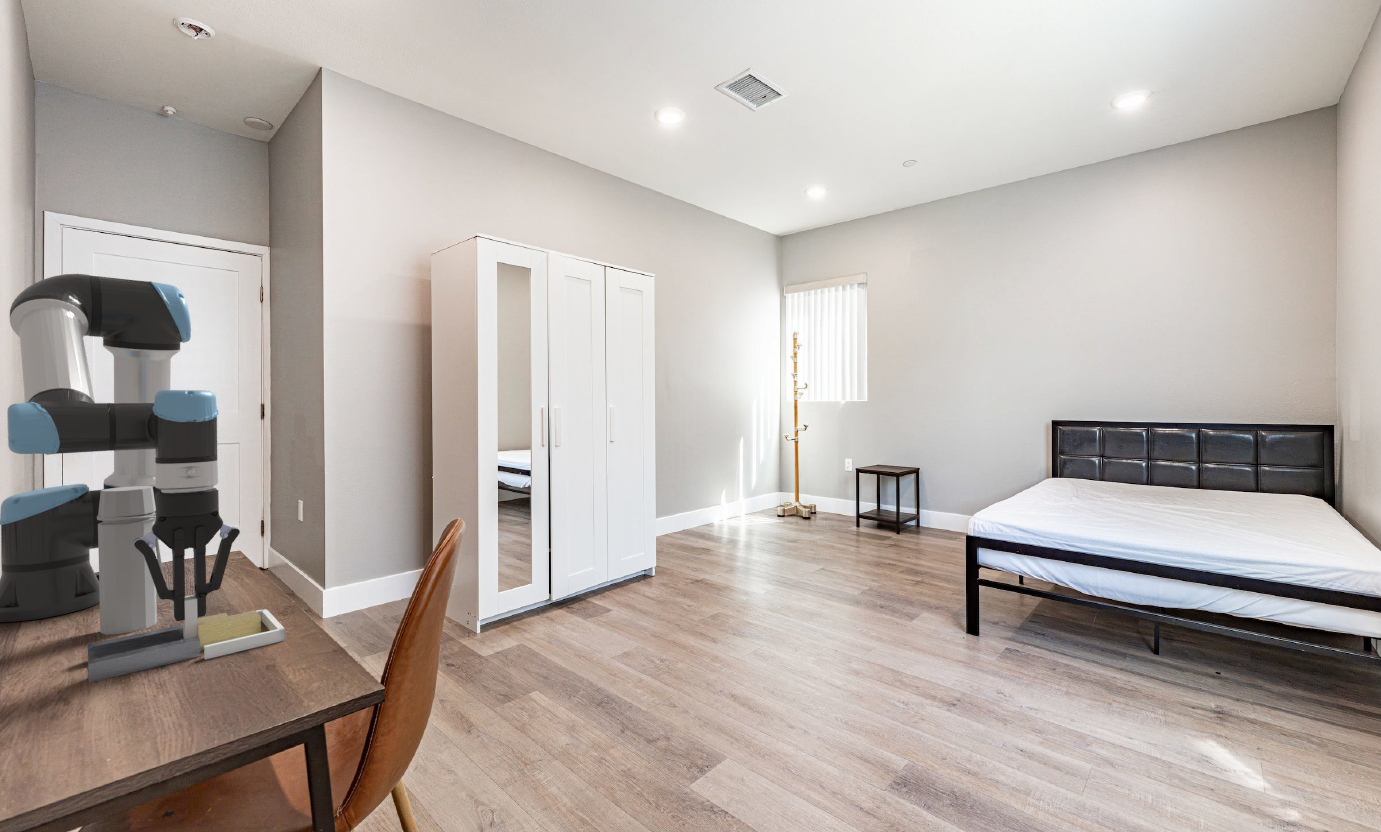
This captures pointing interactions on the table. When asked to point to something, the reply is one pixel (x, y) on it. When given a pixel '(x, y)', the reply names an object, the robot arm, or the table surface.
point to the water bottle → (126, 560)
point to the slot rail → (140, 652)
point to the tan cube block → (214, 629)
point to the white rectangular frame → (249, 638)
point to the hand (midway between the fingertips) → (190, 638)
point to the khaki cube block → (245, 624)
